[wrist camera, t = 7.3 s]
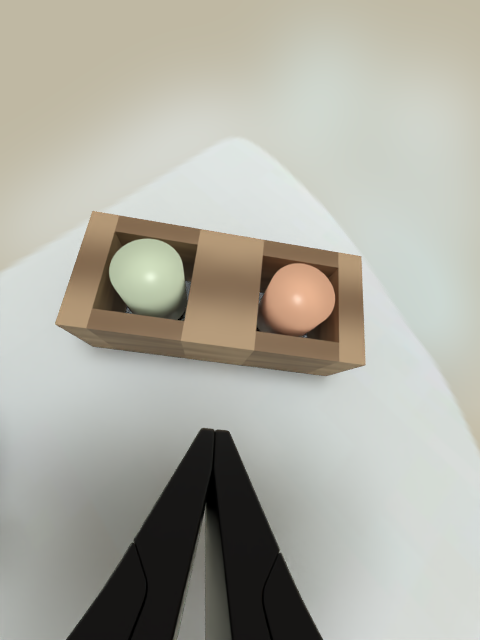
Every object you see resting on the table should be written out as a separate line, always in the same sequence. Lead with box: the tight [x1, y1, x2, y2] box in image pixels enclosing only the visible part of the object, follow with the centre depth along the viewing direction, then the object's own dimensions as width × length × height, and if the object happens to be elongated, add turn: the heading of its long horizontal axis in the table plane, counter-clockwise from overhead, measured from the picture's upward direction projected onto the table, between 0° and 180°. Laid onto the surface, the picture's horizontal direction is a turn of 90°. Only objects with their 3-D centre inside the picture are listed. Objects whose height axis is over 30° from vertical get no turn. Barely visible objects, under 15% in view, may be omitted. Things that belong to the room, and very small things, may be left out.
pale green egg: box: [109, 239, 187, 320], centre depth 20 cm, size 4×4×5 cm
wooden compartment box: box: [55, 211, 365, 376], centre depth 21 cm, size 8×19×6 cm, turn 84°
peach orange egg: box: [257, 263, 335, 337], centre depth 20 cm, size 4×4×5 cm
